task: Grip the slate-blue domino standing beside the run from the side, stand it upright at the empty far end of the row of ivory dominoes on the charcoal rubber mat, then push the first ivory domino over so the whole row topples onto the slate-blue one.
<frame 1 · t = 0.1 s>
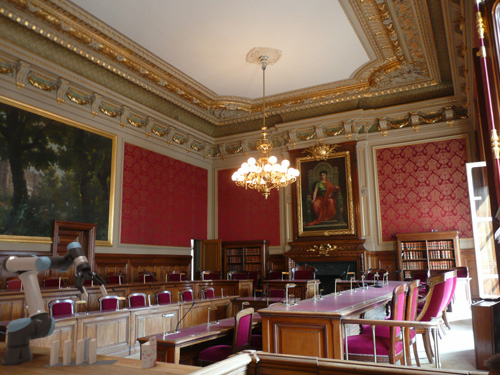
hand: (96, 296, 235), 36 cm above the table, tool tilted 35°, fingers open, 13 cm apart
domino 4: (92, 362, 229), resting on runway mat
slate domino: (86, 359, 239), on the table
domino 1: (54, 364, 229), resting on runway mat
domino 3: (79, 363, 229), resting on runway mat
runway mat: (81, 364, 229), on the table
domino 2: (66, 363, 229), resting on runway mat
ink cartridge box: (148, 366, 220), on the table
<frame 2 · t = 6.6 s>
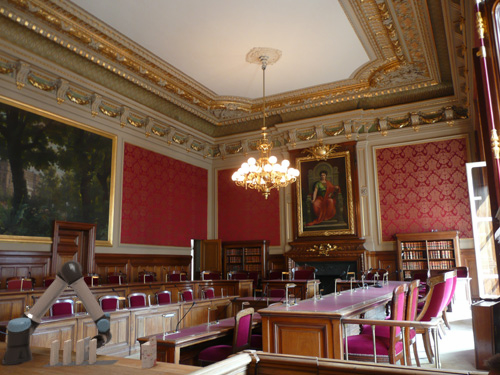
hand: (83, 349, 235), 7 cm above the table, tool horizontal, fingers closed on slate domino, 2 cm apart
slate domino: (86, 359, 239), on the table, touching gripper
everything else where it was.
when the fingers open (8 cm above the table, at t = 12.9 s): slate domino stays where it is, resting on runway mat.
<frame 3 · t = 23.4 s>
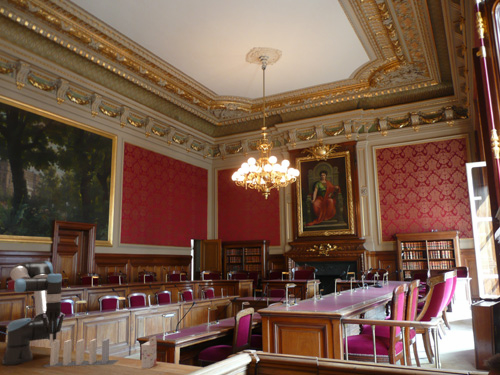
hand: (52, 345, 230), 10 cm above the table, tool pointing down, fingers closed
slate domino: (105, 362, 229), resting on runway mat
domino 1: (54, 364, 229), point 1 cm above the table, touching gripper, runway mat
everything else where it was.
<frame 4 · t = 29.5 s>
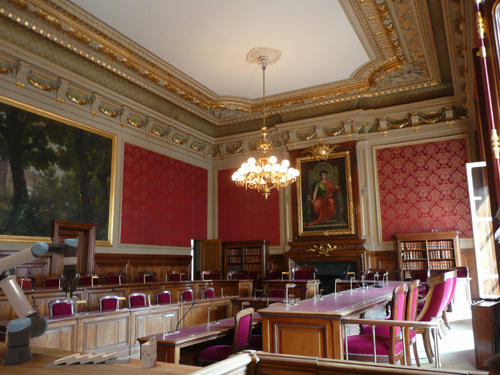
hand: (68, 303, 255), 30 cm above the table, tool pointing down, fingers closed
domino 4: (95, 361, 229), point 1 cm above the table, tilted 74°, touching domino 3, runway mat, slate domino
slate domino: (107, 360, 229), point 1 cm above the table, tilted 90°, touching domino 4, runway mat
domino 1: (56, 362, 229), point 1 cm above the table, tilted 75°, touching domino 2, runway mat
domino 3: (82, 361, 229), point 1 cm above the table, tilted 75°, touching domino 2, domino 4, runway mat
domino 2: (68, 362, 229), point 1 cm above the table, tilted 76°, touching domino 1, domino 3, runway mat
everything else where it was.
at the end: slate domino tilted 90°; slate domino inside the target area (1.4 cm from its centre), point 1.4 cm above the table; domino 3 tilted 75° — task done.
